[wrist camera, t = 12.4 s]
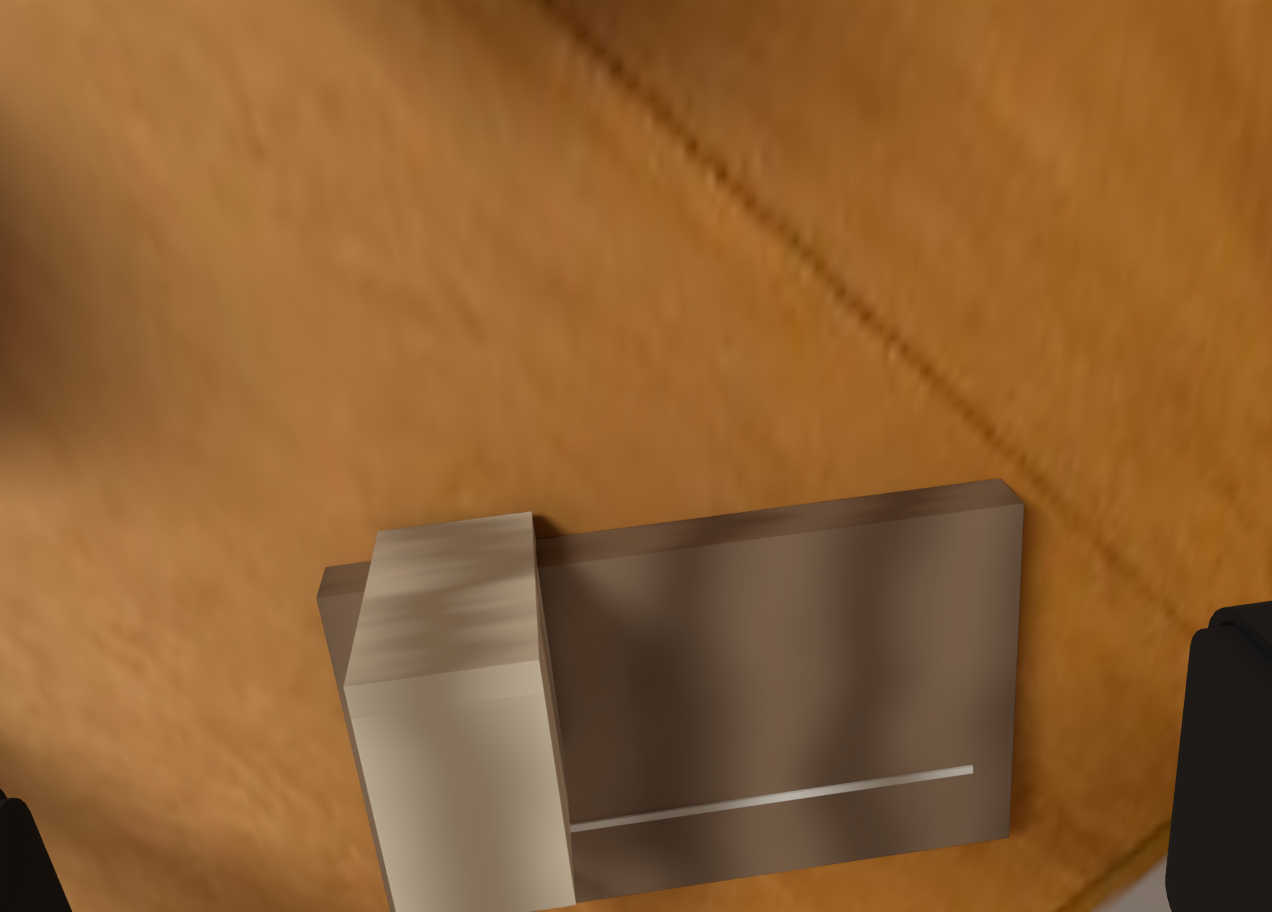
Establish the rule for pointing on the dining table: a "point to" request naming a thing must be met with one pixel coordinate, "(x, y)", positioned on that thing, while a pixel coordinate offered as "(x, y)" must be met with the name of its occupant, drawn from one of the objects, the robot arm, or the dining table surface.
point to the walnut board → (772, 684)
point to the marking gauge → (461, 720)
